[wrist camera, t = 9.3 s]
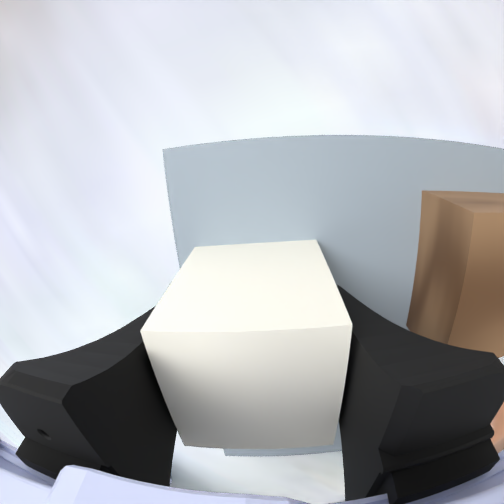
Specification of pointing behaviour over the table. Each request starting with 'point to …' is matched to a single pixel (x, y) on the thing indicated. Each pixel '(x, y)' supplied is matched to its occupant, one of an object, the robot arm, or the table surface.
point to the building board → (325, 207)
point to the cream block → (252, 347)
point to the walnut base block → (460, 271)
